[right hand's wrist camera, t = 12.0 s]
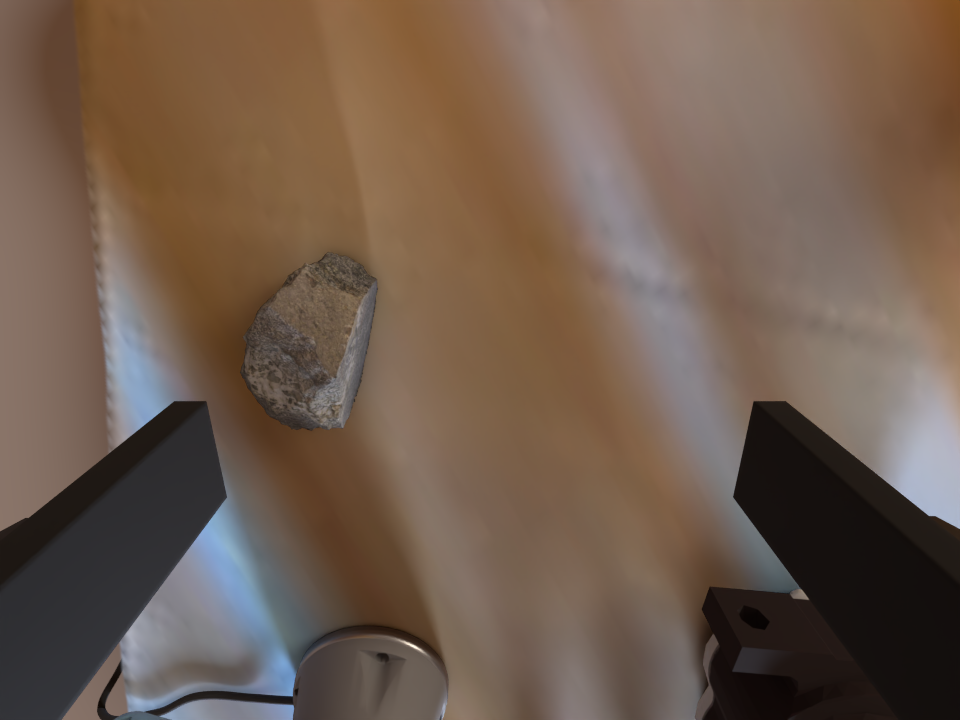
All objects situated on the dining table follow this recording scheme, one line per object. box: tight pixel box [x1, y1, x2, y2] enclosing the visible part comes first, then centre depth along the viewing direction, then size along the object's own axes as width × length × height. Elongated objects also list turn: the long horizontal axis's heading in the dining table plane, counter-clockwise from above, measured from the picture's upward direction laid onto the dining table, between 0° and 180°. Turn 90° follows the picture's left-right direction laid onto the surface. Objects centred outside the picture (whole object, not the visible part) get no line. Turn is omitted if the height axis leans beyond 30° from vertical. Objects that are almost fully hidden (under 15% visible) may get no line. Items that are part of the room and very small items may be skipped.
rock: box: [240, 252, 378, 431], centre depth 36 cm, size 13×9×6 cm, turn 165°
